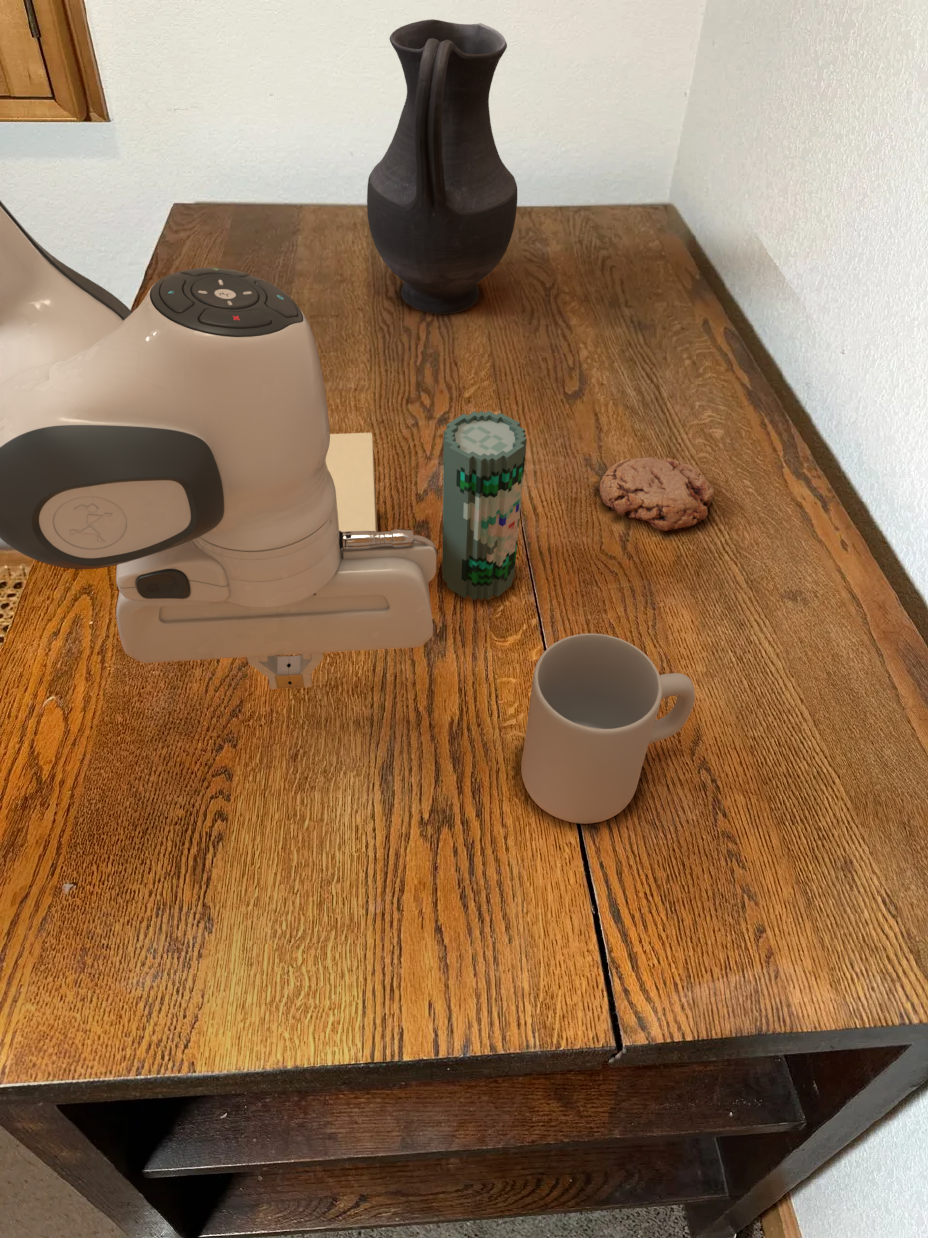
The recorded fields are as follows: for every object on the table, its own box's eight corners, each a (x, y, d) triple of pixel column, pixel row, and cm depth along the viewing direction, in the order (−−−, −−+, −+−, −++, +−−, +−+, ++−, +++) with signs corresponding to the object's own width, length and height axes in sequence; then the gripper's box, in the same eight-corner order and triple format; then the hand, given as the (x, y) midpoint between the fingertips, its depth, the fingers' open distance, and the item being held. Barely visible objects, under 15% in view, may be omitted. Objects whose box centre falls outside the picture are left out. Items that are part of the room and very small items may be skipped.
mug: (543, 838, 65) (559, 746, 57) (505, 741, 70) (514, 645, 62) (699, 798, 67) (736, 704, 59) (650, 707, 73) (678, 610, 65)
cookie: (593, 468, 93) (597, 443, 91) (698, 468, 93) (705, 444, 91) (606, 535, 86) (610, 510, 84) (719, 535, 87) (726, 510, 85)
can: (482, 609, 80) (490, 469, 69) (429, 576, 82) (429, 436, 71) (526, 572, 83) (540, 433, 72) (474, 541, 85) (480, 402, 74)
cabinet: (381, 632, 78) (376, 547, 70) (228, 639, 77) (207, 554, 70) (377, 516, 87) (372, 432, 80) (241, 522, 86) (224, 437, 79)
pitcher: (515, 267, 121) (533, -2, 99) (503, 352, 107) (521, 61, 85) (383, 257, 122) (373, -11, 100) (354, 341, 108) (334, 50, 86)
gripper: (433, 496, 60) (433, 640, 70) (104, 511, 58) (153, 656, 68) (441, 564, 55) (440, 707, 65) (87, 582, 54) (141, 726, 64)
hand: (291, 681), depth 67 cm, fingers closed
